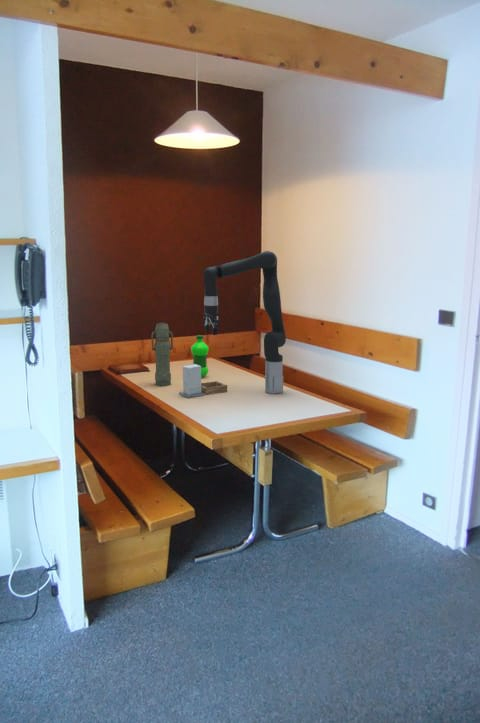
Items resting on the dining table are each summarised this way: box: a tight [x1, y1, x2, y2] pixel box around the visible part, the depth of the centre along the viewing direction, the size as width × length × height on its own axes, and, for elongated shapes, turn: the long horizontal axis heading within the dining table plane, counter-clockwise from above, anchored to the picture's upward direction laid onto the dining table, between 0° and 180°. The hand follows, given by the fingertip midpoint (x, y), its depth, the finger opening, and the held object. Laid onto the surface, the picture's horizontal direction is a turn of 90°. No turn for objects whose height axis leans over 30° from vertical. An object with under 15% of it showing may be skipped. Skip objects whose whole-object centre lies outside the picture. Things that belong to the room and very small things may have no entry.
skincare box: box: [182, 364, 202, 395], centre depth 302 cm, size 8×6×15 cm
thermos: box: [151, 322, 174, 387], centre depth 323 cm, size 9×12×35 cm
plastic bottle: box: [190, 334, 210, 379], centre depth 343 cm, size 10×10×25 cm
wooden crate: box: [201, 380, 228, 396], centre depth 312 cm, size 11×13×4 cm
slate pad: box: [178, 391, 206, 399], centre depth 304 cm, size 10×10×1 cm
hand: (211, 333), depth 314 cm, fingers open, 8 cm apart
